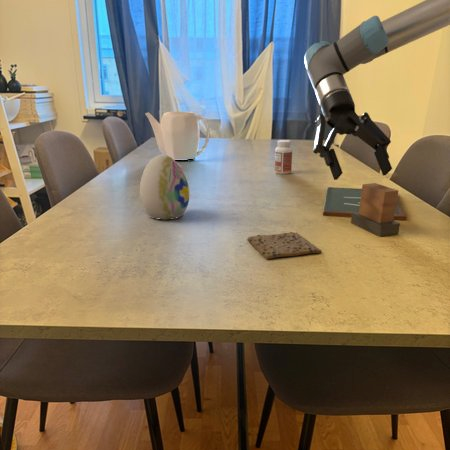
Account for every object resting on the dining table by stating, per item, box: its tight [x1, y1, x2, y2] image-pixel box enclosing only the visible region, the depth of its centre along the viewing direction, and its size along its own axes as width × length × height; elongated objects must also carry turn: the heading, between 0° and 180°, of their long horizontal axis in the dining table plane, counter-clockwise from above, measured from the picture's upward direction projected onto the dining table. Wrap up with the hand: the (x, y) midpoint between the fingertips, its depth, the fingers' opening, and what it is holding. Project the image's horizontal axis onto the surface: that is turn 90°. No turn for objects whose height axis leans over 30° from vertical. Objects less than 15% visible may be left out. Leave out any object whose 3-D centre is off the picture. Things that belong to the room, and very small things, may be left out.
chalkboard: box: [322, 186, 407, 221], centre depth 120 cm, size 20×28×1 cm
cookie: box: [246, 231, 323, 260], centre depth 90 cm, size 12×12×1 cm
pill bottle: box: [273, 139, 293, 175], centre depth 157 cm, size 6×6×11 cm
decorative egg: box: [139, 154, 190, 220], centre depth 107 cm, size 12×12×15 cm
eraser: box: [350, 182, 401, 238], centre depth 98 cm, size 11×5×10 cm, turn 20°
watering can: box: [144, 110, 211, 160], centre depth 181 cm, size 16×27×19 cm, turn 88°
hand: (363, 174), depth 101 cm, fingers open, 13 cm apart
